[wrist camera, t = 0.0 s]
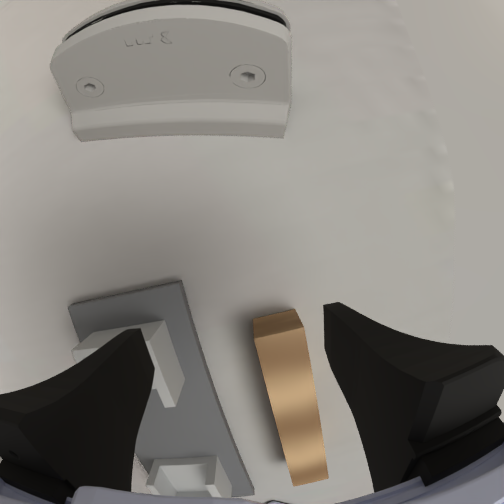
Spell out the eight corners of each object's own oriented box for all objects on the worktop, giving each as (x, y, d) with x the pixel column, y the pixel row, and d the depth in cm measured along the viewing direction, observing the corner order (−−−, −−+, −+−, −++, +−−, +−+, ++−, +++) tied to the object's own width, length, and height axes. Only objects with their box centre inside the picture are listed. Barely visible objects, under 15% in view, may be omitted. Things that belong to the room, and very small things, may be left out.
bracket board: (254, 488, 25) (255, 521, 20) (168, 493, 25) (161, 523, 20) (181, 280, 22) (164, 298, 17) (73, 303, 22) (42, 321, 17)
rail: (320, 451, 24) (328, 478, 20) (288, 458, 24) (293, 486, 20) (294, 307, 22) (303, 327, 18) (252, 317, 22) (253, 338, 18)
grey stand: (77, 142, 20) (16, 62, 10) (93, 98, 21) (49, 17, 11) (289, 139, 20) (317, 29, 11) (287, 92, 21) (308, -11, 12)
